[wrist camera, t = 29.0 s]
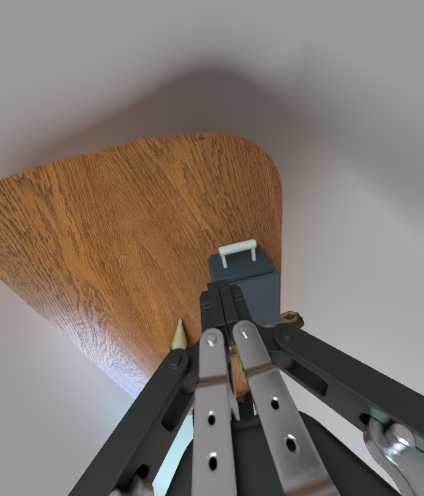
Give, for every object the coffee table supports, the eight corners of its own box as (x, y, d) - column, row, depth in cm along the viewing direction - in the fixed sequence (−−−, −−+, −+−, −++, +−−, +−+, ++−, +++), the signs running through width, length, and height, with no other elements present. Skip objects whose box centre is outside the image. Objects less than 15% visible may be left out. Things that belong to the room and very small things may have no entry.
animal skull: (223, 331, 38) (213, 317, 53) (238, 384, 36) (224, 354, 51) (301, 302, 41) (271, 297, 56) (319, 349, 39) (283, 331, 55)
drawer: (204, 238, 34) (208, 260, 27) (256, 225, 34) (273, 244, 27) (219, 295, 43) (225, 323, 36) (261, 285, 43) (274, 311, 36)
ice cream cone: (192, 327, 44) (190, 370, 49) (191, 312, 49) (190, 352, 54) (167, 328, 43) (167, 372, 48) (169, 313, 49) (169, 353, 53)
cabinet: (207, 258, 38) (212, 290, 30) (259, 246, 38) (279, 274, 30) (218, 299, 45) (225, 334, 36) (262, 288, 45) (279, 321, 36)
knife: (215, 402, 79) (220, 404, 80) (215, 404, 78) (220, 406, 80) (238, 392, 75) (242, 394, 76) (239, 393, 75) (243, 396, 76)
